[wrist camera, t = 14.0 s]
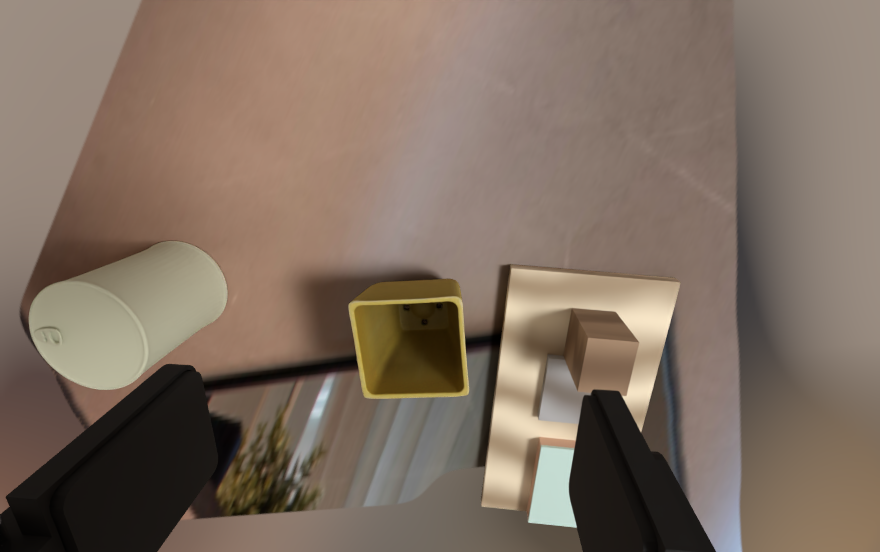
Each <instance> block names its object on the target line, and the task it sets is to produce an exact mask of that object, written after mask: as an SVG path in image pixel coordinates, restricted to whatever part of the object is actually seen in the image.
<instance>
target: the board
mask: <svg viewBox="0 0 880 552" xmlns="http://www.w3.org/2000/svg"><path fill="white" fill-rule="evenodd" d="M680 283H681V282H680V281H678V280H677V279H676V278H670V277H658V276H646V275H634V274H622V273H610V272H597V271H585V270H573V269H561V268H549V267H537V266H525V265H513V264H510V271H509V279H508V287H507V295H506V303H505V311H504V319H503V327H502V335H501V343H500V351H499V359H498V367H497V375H496V383H495V391H494V399H493V407H492V415H491V423H490V431H489V439H488V447H487V455H486V464H485V472H484V480H483V488H482V496H481V506H483V507H492V508H502V509H511V510H520V511H527V505H528V500H529V494H530V488H531V482H532V476H533V470H534V464H535V459H536V453H537V447H538V441H539V437H546V438H556V439H566V440H576V436H577V430H578V424H573V423H562V422H552V421H542V420H538V409H539V403H540V397H541V391H542V385H543V379H544V373H545V367H546V361H547V354H550V355H561V356H563V354H564V349H565V343H566V338H567V332H568V326H569V321H570V315H571V310H572V308H579V309H590V310H602V311H614V312H616V313H617V314H618V315H619V317H620V318H621V319H622V320H623V322H624V323H625V324H626V326H627V327H628V328H629V329H630V331H631V332H632V333H633V335H634V336H635V337H636V339H637V340H638V341H639V346H638V350H637V354H636V359H635V363H634V367H633V371H632V375H631V379H630V383H629V387H628V392H627V396H622V397H623V399H624V401H625V403H626V405H627V407H628V408H629V410H630V412H631V414H632V416H633V418H634V420H635V422H636V424H637V426H638V428H639V430H640V432H641V431H642V427H643V423H644V419H645V416H646V412H647V408H648V404H649V400H650V397H651V393H652V389H653V385H654V382H655V378H656V374H657V370H658V366H659V363H660V359H661V355H662V351H663V347H664V344H665V340H666V336H667V332H668V328H669V325H670V321H671V317H672V313H673V309H674V306H675V302H676V298H677V294H678V290H679V287H680Z"/></svg>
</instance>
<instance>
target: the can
mask: <svg viewBox="0 0 880 552" xmlns="http://www.w3.org/2000/svg"><path fill="white" fill-rule="evenodd" d="M227 296H228V291H227V284H226V281H225V277H224V275H223V273H222V271H221V269H220V268H219V266H218V265H217V264H216V262H215V261H214V260H213V259H212V258H211V257H210V256H209V255H208V254H206V253H205V252H204V251H202V250H201V249H199V248H197V247H196V246H193V245H191V244H188V243H185V242H180V241H165V242H160V243H157V244H155V245H153V246H151V247H150V248H148V249H147V250H144V251H142V252H139V253H137V254H134V255H132V256H129V257H127V258H124V259H122V260H119V261H116V262H114V263H111V264H109V265H106V266H103V267H101V268H98V269H95V270H93V271H90V272H87V273H84V274H82V275H79V276H76V277H73V278H71V279H68V280H65V281H61V282H57V283H54V284H51V285H49V286H48V287H46V288H44V289H43V290H42V291H41V292H40V293H39V294H38V295H37V296H36V297H35V299H34V301H33V302H32V305H31V307H30V312H29V328H30V332H31V336H32V338H33V341H34V343H35V345H36V347H37V349H38V351H39V352H40V354H41V355H42V356H43V358H44V359H45V360H46V361H47V362H48V363H49V364H50V365H51V366H52V367H53V368H54V369H55V370H56V371H57V372H59V373H60V374H61V375H63V376H64V377H66V378H67V379H69V380H71V381H73V382H75V383H77V384H79V385H82V386H85V387H88V388H93V389H100V390H112V389H118V388H122V387H124V386H127V385H129V384H131V383H132V382H134V381H135V380H136V379H137V378H139V376H140V375H141V374H143V373H144V372H145V371H146V370H148V369H149V368H150V367H151V366H153V365H154V364H155V363H157V362H158V361H159V360H160V359H162V358H163V357H164V356H166V355H167V354H168V353H169V352H171V351H172V350H173V349H175V348H176V347H177V346H179V345H180V344H181V343H183V342H184V341H185V340H187V339H188V338H189V337H191V336H192V335H193V334H195V333H196V332H197V331H199V330H200V329H202V328H203V327H204V326H206V325H209V324H211V323H212V322H214V321H215V320H216V319H217V318H218V317H219V316H220V315H221V314H222V312H223V310H224V308H225V306H226V303H227Z"/></svg>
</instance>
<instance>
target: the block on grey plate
mask: <svg viewBox="0 0 880 552" xmlns="http://www.w3.org/2000/svg"><path fill="white" fill-rule="evenodd" d="M638 346H639V341H638V340H637V339H636V337H635V336H634V335H633V333H632V332H631V331H630V329H629V328H628V327H627V326H626V324H625V323H624V322H623V320H622V319H621V318H620V317H619V315H618V314H617V313H616V312H614V311H602V310H590V309H579V308H572V310H571V315H570V321H569V326H568V332H567V338H566V343H565V349H564V354H563V356H561V355H550V354H547V361H546V367H545V373H544V379H543V385H542V391H541V397H540V403H539V409H538V420H542V421H552V422H562V423H573V424H579V418H580V412H581V406H582V400H583V397H584V395H591V392H592V390H594V389H598V390H615V391H619V392H620V393H621V395H622V396H627V392H628V387H629V383H630V379H631V375H632V371H633V367H634V363H635V359H636V354H637V350H638Z"/></svg>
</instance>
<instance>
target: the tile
mask: <svg viewBox="0 0 880 552" xmlns="http://www.w3.org/2000/svg"><path fill="white" fill-rule="evenodd" d="M575 442H576V440H566V439H556V438H546V437H539V441H538V447H537V453H536V459H535V464H534V470H533V476H532V482H531V488H530V494H529V500H528V505H527V517H528V522H529V523H539V524H548V525H557V526H567V527H576V528H577V526H576V522H575V518H574V514H573V510H572V506H571V502H570V497H569V478H570V472H571V466H572V460H573V454H574V448H575Z"/></svg>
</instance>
